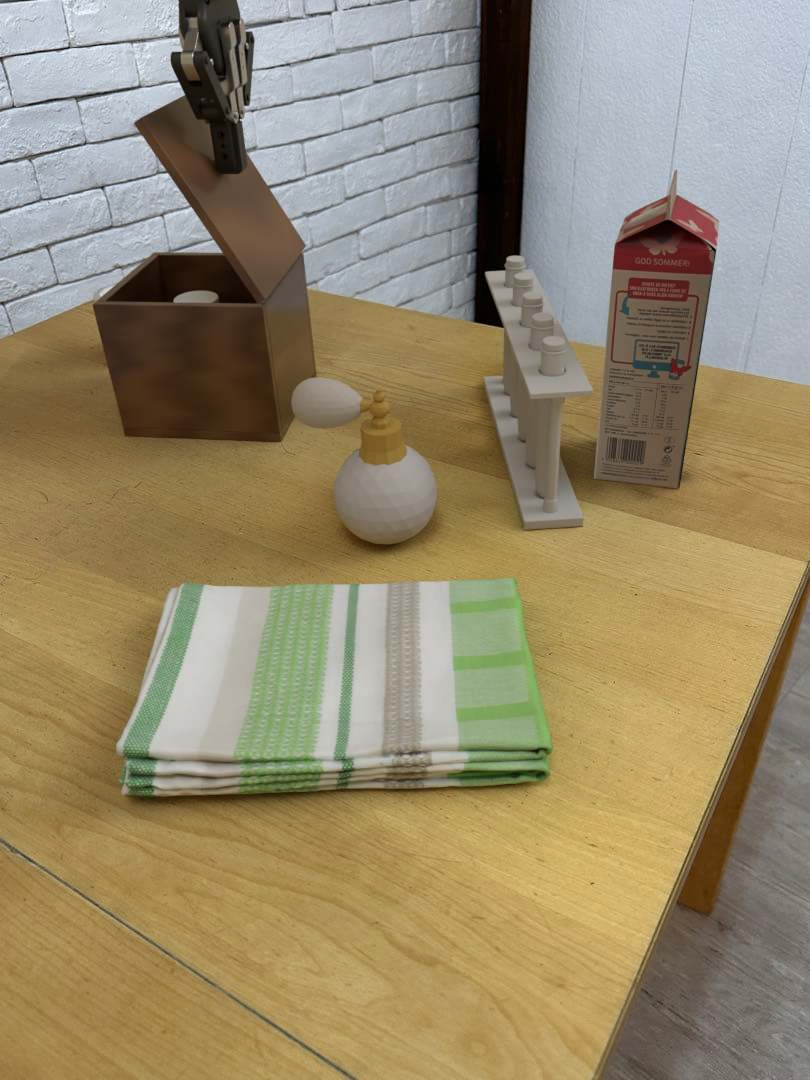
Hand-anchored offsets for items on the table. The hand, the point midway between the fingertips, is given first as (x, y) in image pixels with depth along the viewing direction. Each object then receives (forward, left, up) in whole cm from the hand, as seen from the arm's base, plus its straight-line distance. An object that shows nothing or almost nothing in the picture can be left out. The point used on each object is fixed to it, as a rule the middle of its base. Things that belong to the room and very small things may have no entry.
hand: (232, 171), depth 73 cm
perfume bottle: (+14, -20, -21) cm, 32 cm away
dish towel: (+15, -36, -21) cm, 44 cm away
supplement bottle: (-5, 0, -20) cm, 21 cm away
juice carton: (+34, -8, -21) cm, 41 cm away
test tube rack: (+25, -6, -21) cm, 33 cm away
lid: (-1, 0, -2) cm, 2 cm away
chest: (-4, 0, -21) cm, 21 cm away
